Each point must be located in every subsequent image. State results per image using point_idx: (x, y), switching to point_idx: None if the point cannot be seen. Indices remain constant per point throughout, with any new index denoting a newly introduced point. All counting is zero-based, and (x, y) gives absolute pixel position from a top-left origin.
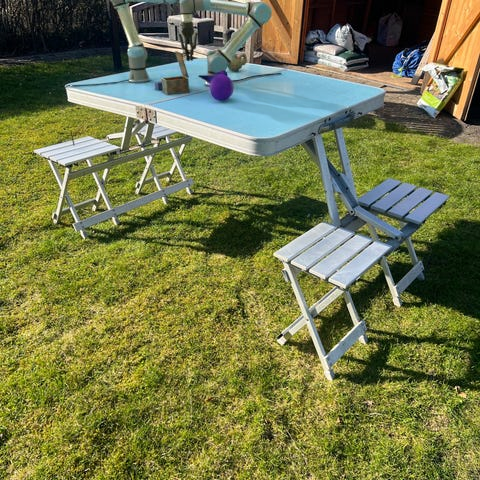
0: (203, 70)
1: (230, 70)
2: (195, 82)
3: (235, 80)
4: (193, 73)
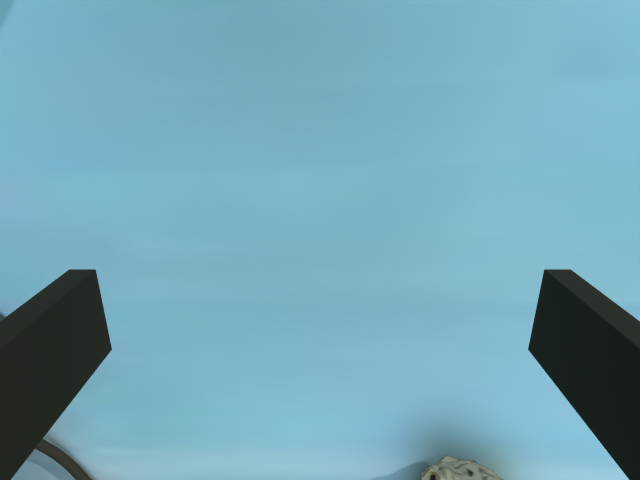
0: (584, 266)
1: (437, 463)
2: (30, 205)
3: (70, 472)
4: (459, 178)
